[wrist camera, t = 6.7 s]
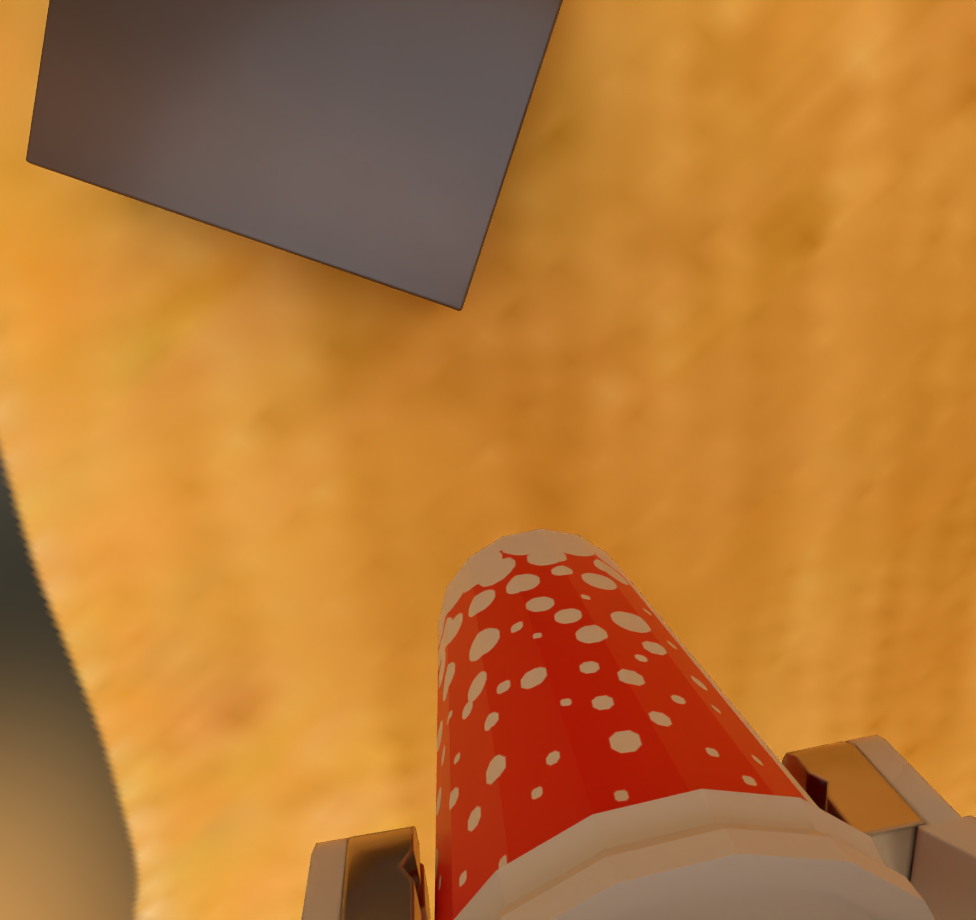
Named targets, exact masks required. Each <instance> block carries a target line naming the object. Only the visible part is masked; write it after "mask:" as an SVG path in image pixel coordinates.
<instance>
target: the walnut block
mask: <svg viewBox="0 0 976 920" xmlns="http://www.w3.org/2000/svg"><path fill="white" fill-rule="evenodd" d="M562 1H563V0H50V1H49V8H48V15H47V21H46V28H45V35H44V42H43V49H42V55H41V62H40V69H39V76H38V82H37V89H36V96H35V103H34V109H33V116H32V123H31V130H30V136H29V143H28V150H27V157H26V160H27V162H29V163H31V164H34V165H37V166H39V167H42V168H45V169H48V170H51V171H54V172H57V173H60V174H63V175H66V176H69V177H71V178H74V179H77V180H80V181H83V182H86V183H89V184H92V185H95V186H98V187H100V188H103V189H106V190H109V191H112V192H115V193H118V194H121V195H124V196H127V197H130V198H132V199H135V200H138V201H141V202H144V203H147V204H150V205H153V206H156V207H159V208H162V209H164V210H167V211H170V212H173V213H176V214H179V215H182V216H185V217H188V218H191V219H193V220H196V221H199V222H202V223H205V224H208V225H211V226H214V227H217V228H220V229H223V230H225V231H228V232H231V233H234V234H237V235H240V236H243V237H246V238H249V239H252V240H254V241H257V242H260V243H263V244H266V245H269V246H272V247H275V248H278V249H281V250H284V251H286V252H289V253H292V254H295V255H298V256H301V257H304V258H307V259H310V260H313V261H316V262H318V263H321V264H324V265H327V266H330V267H333V268H336V269H339V270H342V271H345V272H347V273H350V274H353V275H356V276H359V277H362V278H365V279H368V280H371V281H374V282H377V283H379V284H382V285H385V286H388V287H391V288H394V289H397V290H400V291H403V292H406V293H409V294H411V295H414V296H417V297H420V298H423V299H426V300H429V301H432V302H435V303H438V304H440V305H443V306H446V307H449V308H452V309H455V310H458V311H461V310H462V308H463V305H464V302H465V299H466V296H467V293H468V290H469V286H470V283H471V280H472V277H473V274H474V271H475V268H476V265H477V262H478V259H479V256H480V253H481V250H482V247H483V243H484V240H485V237H486V234H487V231H488V228H489V225H490V222H491V219H492V216H493V213H494V210H495V207H496V204H497V200H498V197H499V194H500V191H501V188H502V185H503V182H504V179H505V176H506V173H507V170H508V167H509V164H510V160H511V157H512V154H513V151H514V148H515V145H516V142H517V139H518V136H519V133H520V130H521V127H522V124H523V121H524V117H525V114H526V111H527V108H528V105H529V102H530V99H531V96H532V93H533V90H534V87H535V84H536V81H537V78H538V74H539V71H540V68H541V65H542V62H543V59H544V56H545V53H546V50H547V47H548V44H549V41H550V38H551V35H552V31H553V28H554V25H555V22H556V19H557V16H558V13H559V10H560V7H561V4H562Z"/></svg>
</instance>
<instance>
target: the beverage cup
mask: <svg viewBox="0 0 976 920" xmlns="http://www.w3.org/2000/svg"><path fill="white" fill-rule="evenodd" d="M435 920H935V919H934V917H933V915H932V913H931V911H930V910H929V908H928V906H927V904H926V902H925V901H924V900H923V898H922V897H921V896H920V894H919V893H918V892H917V891H916V889H915V888H914V887H913V886H912V884H911V883H910V882H909V881H908V879H907V878H906V877H905V876H903V875H901V874H900V873H898V872H896V871H894V870H892V869H890V868H888V867H887V866H886V864H885V862H884V860H883V859H882V857H881V855H880V853H879V851H878V849H877V848H876V846H875V844H874V842H873V840H872V839H871V837H870V836H868V835H867V834H865V833H863V832H861V831H859V830H858V829H856V828H854V827H852V826H850V825H849V824H847V823H845V822H843V821H841V820H840V819H838V818H836V817H834V816H832V815H831V814H829V813H827V812H825V811H823V810H822V809H820V808H819V807H818V806H817V805H816V804H815V803H814V801H813V800H812V799H811V798H810V797H809V795H808V794H807V793H806V792H805V791H804V789H803V788H802V787H801V786H800V785H799V783H798V782H797V781H796V780H795V779H794V777H793V776H792V775H791V774H790V772H789V771H788V770H787V769H786V768H785V766H784V765H783V764H782V763H781V762H780V760H779V759H778V758H777V757H776V756H775V754H774V753H773V752H772V751H771V750H770V748H769V747H768V746H767V745H766V744H765V742H764V741H763V740H762V739H761V738H760V736H759V735H758V734H757V733H756V732H755V730H754V729H753V728H752V727H751V726H750V724H749V723H748V722H747V721H746V720H745V718H744V717H743V716H742V715H741V713H740V712H739V711H738V710H737V709H736V707H735V706H734V705H733V704H732V703H731V701H730V700H729V699H728V698H727V697H726V695H725V694H724V693H723V692H722V691H721V689H720V688H719V687H718V686H717V685H716V683H715V682H714V681H713V680H712V679H711V677H710V676H709V675H708V674H707V673H706V671H705V670H704V669H703V668H702V667H701V665H700V664H699V663H698V662H697V661H696V659H695V658H694V657H693V656H692V654H691V653H690V652H689V651H688V650H687V648H686V647H685V646H684V645H683V644H682V642H681V641H680V640H679V639H678V638H677V636H676V635H675V634H674V633H673V632H672V630H671V629H670V628H669V627H668V626H667V624H666V623H665V622H664V621H663V620H662V618H661V617H660V616H659V615H658V614H657V612H656V611H655V610H654V609H653V608H652V606H651V605H650V604H649V603H648V602H647V600H646V599H645V598H644V597H643V595H642V594H641V593H640V592H639V591H638V589H637V588H636V587H635V586H634V585H633V583H632V582H631V581H630V580H629V579H628V577H627V576H626V575H625V574H624V573H623V571H622V570H621V569H620V568H619V567H618V565H617V564H616V563H615V562H614V561H613V559H612V558H611V557H610V556H609V555H608V553H606V552H604V551H603V550H601V549H600V548H598V547H597V546H595V545H593V544H592V543H590V542H589V541H587V540H586V539H584V538H582V537H581V536H579V535H576V534H570V533H564V532H558V531H552V530H546V529H537V530H532V531H528V532H523V533H518V534H513V535H508V536H503V537H501V538H499V539H498V540H496V541H495V542H493V543H491V544H490V545H488V546H487V547H485V548H483V549H482V550H480V551H479V552H477V553H475V554H474V555H472V556H471V557H469V558H468V560H467V561H466V562H465V564H464V565H463V566H462V568H461V569H460V570H459V572H458V573H457V574H456V576H455V577H454V578H453V580H452V581H451V582H450V584H449V585H448V586H447V588H446V593H445V597H444V601H443V605H442V609H441V614H440V618H439V641H438V714H437V788H436V861H435Z"/></svg>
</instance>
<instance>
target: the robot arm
mask: <svg viewBox="0 0 976 920" xmlns="http://www.w3.org/2000/svg"><path fill="white" fill-rule="evenodd" d="M782 764H783V765H784V766H785V768H786V769H787V770H788V771H789V772H790V774H791V775H792V776H793V777H794V779H795V780H796V781H797V782H798V783H799V785H800V786H801V787H802V788H803V789H804V791H805V792H806V793H807V794H808V795H809V797H810V798H811V799H812V800H813V801H814V803H815V804H816V805H817V806H818V807H819V808H820V809H822V810H823V811H825V812H827V813H829V814H831V815H832V816H834V817H836V818H838V819H840V820H841V821H843V822H845V823H847V824H849V825H850V826H852V827H854V828H856V829H858V830H859V831H861V832H863V833H865V834H867V835H868V836H870V837H871V839H872V840H873V842H874V844H875V846H876V848H877V849H878V851H879V853H880V855H881V857H882V859H883V860H884V862H885V864H886V866H887V867H888V868H890V869H892V870H894V871H896V872H898V873H900V874H901V875H903V876H905V877H906V878H907V879H908V881H909V882H910V883H911V884H912V886H913V887H914V888H915V889H916V891H917V892H918V893H919V894H920V896H921V897H922V898H923V900H924V901H925V902H926V904H927V906H928V908H929V910H930V911H931V913H932V915H933V917H934V919H935V920H976V818H975V817H973V816H965V817H961V816H960V815H959V814H958V813H957V812H956V811H955V810H954V809H953V808H952V807H951V806H950V805H949V804H948V803H947V802H946V801H945V800H944V799H943V798H942V797H941V796H940V795H939V794H938V793H937V792H936V791H935V790H934V789H933V788H932V787H931V785H930V784H929V783H928V782H927V781H926V780H925V779H924V778H923V777H922V776H921V775H920V774H919V773H918V772H917V771H916V770H915V769H914V768H913V767H912V766H911V765H910V764H909V763H908V762H907V761H906V760H905V759H904V758H903V757H902V756H901V755H900V754H899V753H898V752H897V751H896V750H895V749H894V748H893V747H892V746H891V745H890V744H889V743H888V742H887V741H886V740H885V739H884V738H882V737H880V736H878V735H873V736H868V737H863V738H858V739H853V740H848V741H845V742H843V741H841V742H836V743H832V744H827V745H822V746H817V747H812V748H808V749H803V750H798V751H793V752H788V753H786V754H785V756H784V758H783V760H782ZM302 920H431V919H430V907H429V895H428V888H427V881H426V875H425V870H424V865H423V864H421V863H420V851H419V840H418V836H417V832H416V828H415V827H414V826H413V827H407V828H401V829H395V830H389V831H383V832H377V833H371V834H365V835H359V836H353V837H350V838H344V839H338V840H332V841H327V842H321V843H316V845H315V847H314V850H313V852H312V854H311V861H310V867H309V874H308V880H307V887H306V893H305V900H304V907H303V913H302Z"/></svg>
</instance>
